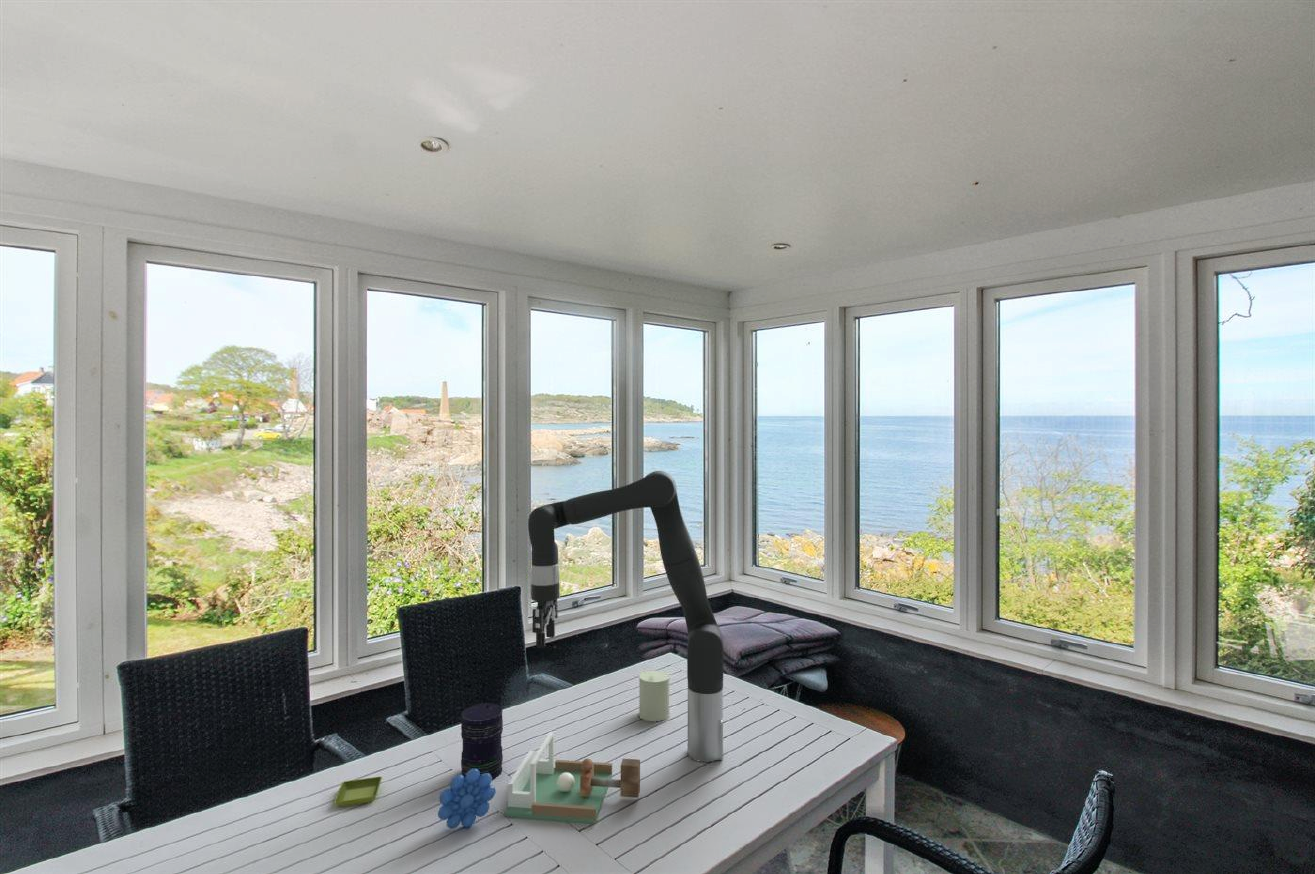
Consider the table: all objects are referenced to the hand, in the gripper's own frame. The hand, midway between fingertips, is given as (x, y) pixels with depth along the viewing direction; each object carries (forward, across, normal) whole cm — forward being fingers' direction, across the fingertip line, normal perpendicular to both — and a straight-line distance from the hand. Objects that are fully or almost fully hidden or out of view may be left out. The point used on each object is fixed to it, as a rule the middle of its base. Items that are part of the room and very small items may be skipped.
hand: (545, 641), depth 165 cm
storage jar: (+28, -14, +12) cm, 34 cm away
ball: (+25, -21, -11) cm, 35 cm away
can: (+28, +23, -26) cm, 45 cm away
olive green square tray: (+28, -28, +36) cm, 53 cm away
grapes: (+28, -34, +7) cm, 45 cm away
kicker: (+27, -21, -21) cm, 40 cm away
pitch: (+28, -21, -10) cm, 36 cm away
